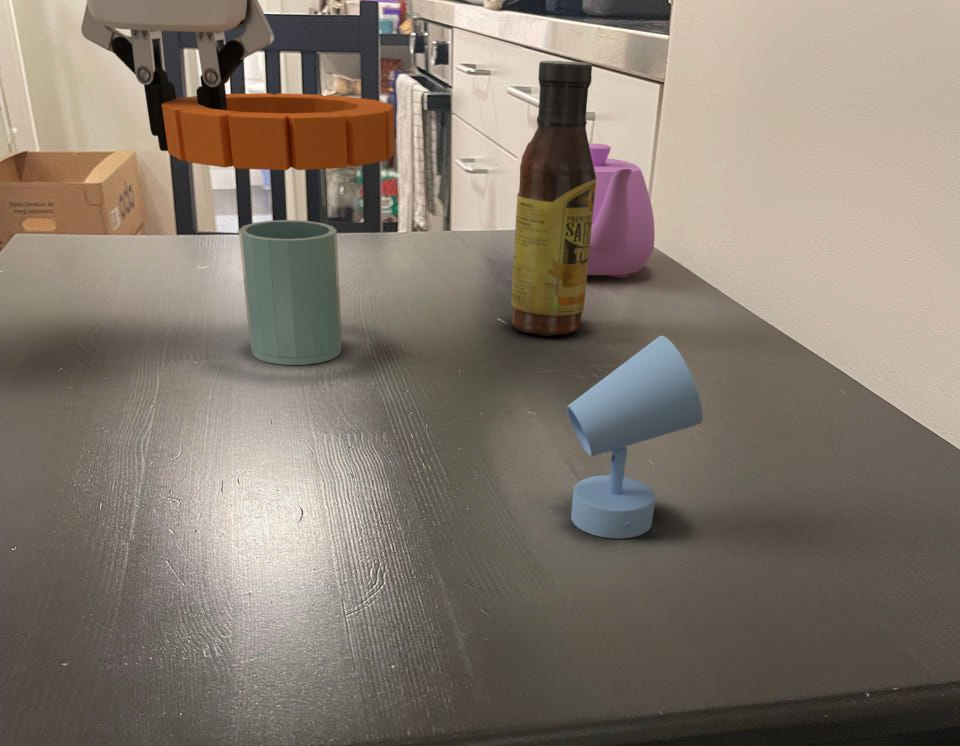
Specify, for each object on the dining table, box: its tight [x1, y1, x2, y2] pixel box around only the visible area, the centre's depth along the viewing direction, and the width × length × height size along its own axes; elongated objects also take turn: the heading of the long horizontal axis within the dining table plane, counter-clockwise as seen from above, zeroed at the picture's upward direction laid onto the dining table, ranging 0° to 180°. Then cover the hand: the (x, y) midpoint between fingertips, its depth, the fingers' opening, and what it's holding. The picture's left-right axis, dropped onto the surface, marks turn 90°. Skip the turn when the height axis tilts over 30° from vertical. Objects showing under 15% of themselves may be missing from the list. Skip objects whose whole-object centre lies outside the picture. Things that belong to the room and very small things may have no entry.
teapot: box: [587, 143, 655, 279], centre depth 98 cm, size 20×13×12 cm, turn 10°
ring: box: [162, 92, 396, 171], centre depth 68 cm, size 15×15×3 cm
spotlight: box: [566, 335, 704, 539], centre depth 51 cm, size 5×10×7 cm
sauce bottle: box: [510, 60, 596, 337], centre depth 78 cm, size 7×6×20 cm
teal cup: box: [238, 219, 343, 366], centre depth 74 cm, size 7×7×9 cm
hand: (192, 146), depth 68 cm, fingers closed on ring, 2 cm apart
